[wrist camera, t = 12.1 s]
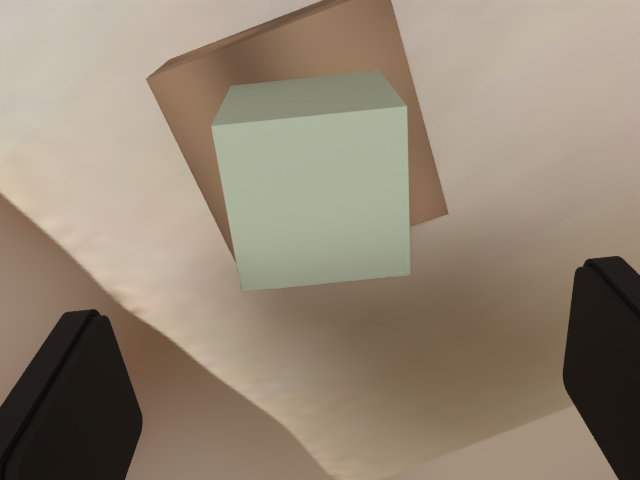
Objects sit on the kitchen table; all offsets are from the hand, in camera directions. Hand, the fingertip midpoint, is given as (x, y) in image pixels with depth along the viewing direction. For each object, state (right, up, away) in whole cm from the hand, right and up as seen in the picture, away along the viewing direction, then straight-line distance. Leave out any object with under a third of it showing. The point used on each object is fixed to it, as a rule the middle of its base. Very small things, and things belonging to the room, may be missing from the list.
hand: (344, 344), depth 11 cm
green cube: (-1, +6, +12) cm, 14 cm away
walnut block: (-1, +8, +17) cm, 19 cm away
